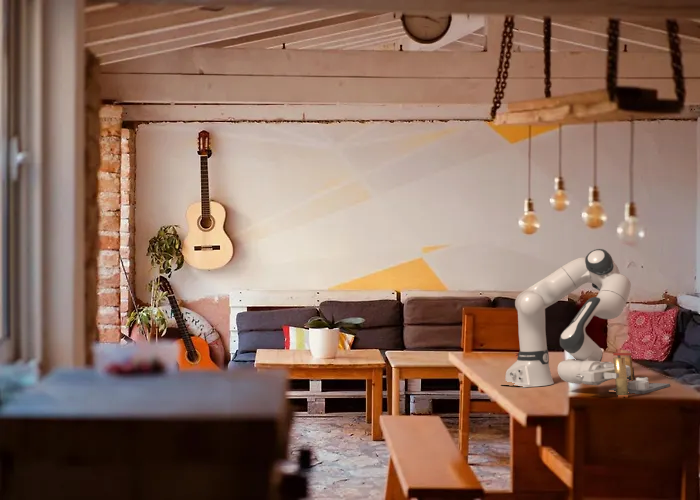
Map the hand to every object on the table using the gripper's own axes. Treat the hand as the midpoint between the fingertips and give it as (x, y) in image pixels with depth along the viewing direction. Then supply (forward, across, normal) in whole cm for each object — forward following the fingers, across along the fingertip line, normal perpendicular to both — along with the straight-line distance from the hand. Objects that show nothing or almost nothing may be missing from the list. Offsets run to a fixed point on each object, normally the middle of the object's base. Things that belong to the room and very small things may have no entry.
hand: (622, 374), depth 304 cm
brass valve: (0, 0, +8) cm, 8 cm away
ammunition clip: (-33, +38, +8) cm, 51 cm away
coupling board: (-9, +18, +8) cm, 21 cm away
